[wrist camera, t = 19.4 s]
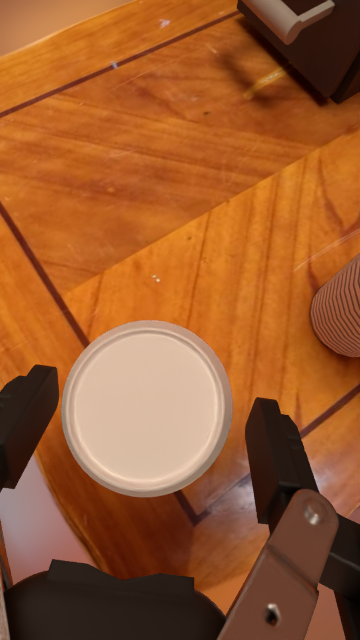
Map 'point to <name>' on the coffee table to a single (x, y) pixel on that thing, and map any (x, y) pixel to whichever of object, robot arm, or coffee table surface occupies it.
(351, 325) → the cup
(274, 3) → the pull-out drawer
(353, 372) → the coffee table surface
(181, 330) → the beverage can
